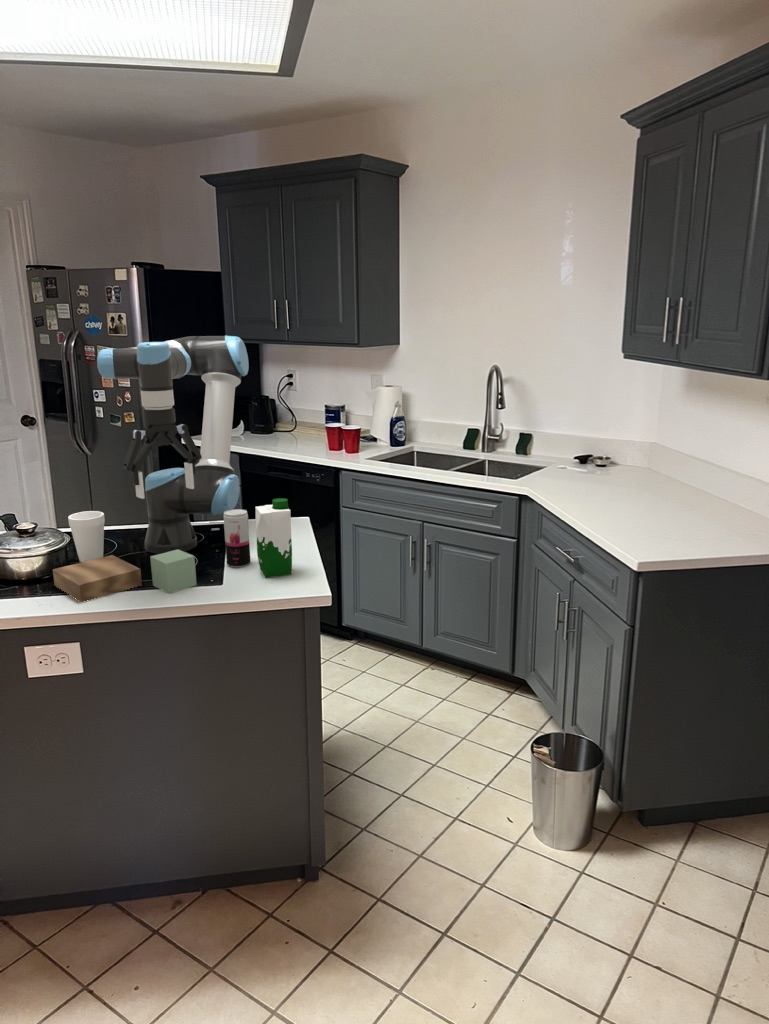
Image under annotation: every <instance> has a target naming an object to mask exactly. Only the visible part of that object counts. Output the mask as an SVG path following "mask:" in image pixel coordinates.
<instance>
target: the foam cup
mask: <svg viewBox="0 0 769 1024" xmlns="http://www.w3.org/2000/svg"><path fill="white" fill-rule="evenodd" d="M67 518H68V520H67V521H68V526H69V527H70V531H71V535H72V538H73V542H74V545H75V549H76V553H77V557H78V560H79V563H81V562H85V561H89V560H94V559H98V558H102V557H104V547H105V546H104V545H105V544H104V539H105V538H104V537H105V522H106V520H105V513H104V512H102V511H99V510H89V511H87V510H86V511H80V512H76V513H72V514H70V515H68V517H67Z"/></svg>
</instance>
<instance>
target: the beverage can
mask: <svg viewBox="0 0 769 1024" xmlns="http://www.w3.org/2000/svg"><path fill="white" fill-rule="evenodd" d="M222 515H223V528H224V542H225V544H224V546H225V558H226V559H225V560H226V565H227V566H229V567H230V568H231V567H232V568H244V567H247V566H249V565H250V564H251V548H250V530H249V528H250V526H249V514H248V511H247V509H242V508H240V509H238V508H237V509H236V508H234V509H233V510H228V511H225V512H224V514H222Z"/></svg>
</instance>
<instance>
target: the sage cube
mask: <svg viewBox="0 0 769 1024" xmlns="http://www.w3.org/2000/svg"><path fill="white" fill-rule="evenodd" d="M195 559H196V558H195V555H193V554H190V553H188V552H187V551H184V552H183V551H181V550H179V549H178V550H174V551H170V552H166V553H162V554H155V555H150V569H151V578H152V579H151V580H152V586H154V587H155V588H157V589H159V590H161V589H162V590H161V591H163V592H165V593H167V594H172V593H174V592H178V591H182V590H185V589H189V588H192V587H196V586H197V584H198V583H197V571H196V562H195V561H196V560H195Z"/></svg>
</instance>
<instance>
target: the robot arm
mask: <svg viewBox="0 0 769 1024" xmlns="http://www.w3.org/2000/svg"><path fill="white" fill-rule="evenodd" d="M96 358H97V359H96V365H97V369H98V373H99V374H100V376H101V377H103V378H104V379H108V380H109V379H112V380H123V379H126V380H130V379H131V380H133V379H137V380H138V379H139V384H140V385H139V387H140V396H141V398H140V399H141V406H142V407H143V410H142V418H143V419H142V421H143V427H144V429H143V430H138V429H132V431H131V441H130V444H129V446H128V449H127V452H126V454H125V457H124V460H123V462H122V466H121V468H122V470H125V471H127V472H130V477H131V478H130V479H131V484H132V485H134V486H135V487H134V488H135V495H136V497H137V498H139V499H141V500H142V499H143V500H144V499H145V498H146V508H147V509H146V510H147V517H148V526H147V529H146V535H145V539H144V550H145V551H146V552H149V553H151V554H156V555H158V554H162V553H166V552H170V551H174V550H178V549H179V550H181V551H183V552H187V551H190V550H192V549H194V548H195V547H197V545H198V537H197V535H196V532H195V530H194V527H193V525H192V523H191V520H190V514H191V515H214V516H218V515H224V512H225V511H228V510H233V509H236V505H237V504H238V500H239V497H240V490H241V486H240V479H239V477H238V475H236V474H235V470H234V468H233V467H232V466H231V465H230V459H231V449H232V448H231V447H232V446H231V445H232V434H233V433H232V432H233V431H232V430H233V421H234V408H235V406H234V405H235V395H236V394H235V393H236V388H237V387H238V386H239V385H240V384H241V382H242V377H245V376H247V375H248V372H249V368H250V367H249V356H248V352H247V347H246V344H245V343H244V341H243V339H241V338H240V337H239V336H235V335H205V336H204V335H203V336H202V335H199V336H198V335H194V336H193V335H191V336H184V337H180V338H179V337H178V338H174V339H170V340H165V341H150V342H149V341H148V342H147V341H145V342H140V343H139V342H138V344H137V346H135V347H125V348H114V347H111V348H103V349H101V350H100V351H98V355H97V356H96ZM185 375H188V376H189V375H190V376H201V380H202V381H203V383H204V384H205V390H204V391H205V392H204V393H205V394H204V405H203V414H202V415H203V417H202V429H201V438H200V439H201V441H200V451H199V449H198V447H197V445H196V443H195V442H194V440H193V438H192V437H191V435H190V432H189V427H188V425H187V424H183V423H179V424H178V425H176V421H177V420H176V410H175V408H174V407H173V406H175V398H174V397H175V396H174V387H173V380H174V379H180V378H183V377H185ZM177 434H179V435H180V436H181V439H182V440H183V442H184V445H185V446H186V447H187V449H186V448H185V446H183V444H181V441H179V439H178V438H177V437H176V435H177ZM144 437H145V440H144V442H143V444H142V443H141V442H142V440H143V439H144ZM141 444H142V445H143V446H142V447H141V448H140V445H141ZM170 445H171V446H172V447H173V448H174V449H175V450H176V451H177V452H178V453H179V454H180V456H182V457H183V459H185V462H183V465H184V467H171V468H167V469H166V468H165V469H161V470H157V471H154V472H151V473H149V474H148V475H146V477H145V479H143V478H144V477H143V476H144V475H143V471H140V470H141V468H142V466H143V464H145V462H146V460H147V458H148V457H149V455H150V454H151V452H152V450H154V449H155V448H156V447H157V448H158V447H163V446H170ZM139 449H140V450H139ZM138 451H139V452H138ZM198 460H199V462H198ZM144 480H145V481H144ZM144 482H145V484H144ZM144 486H145V487H144ZM144 488H145V489H144Z"/></svg>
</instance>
